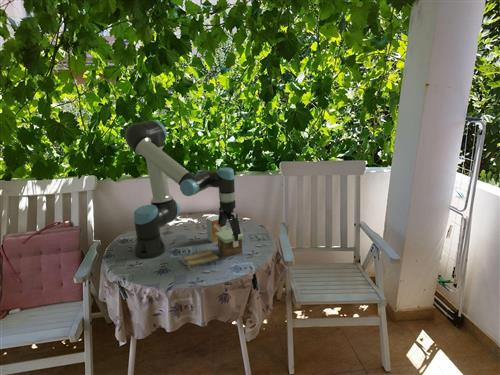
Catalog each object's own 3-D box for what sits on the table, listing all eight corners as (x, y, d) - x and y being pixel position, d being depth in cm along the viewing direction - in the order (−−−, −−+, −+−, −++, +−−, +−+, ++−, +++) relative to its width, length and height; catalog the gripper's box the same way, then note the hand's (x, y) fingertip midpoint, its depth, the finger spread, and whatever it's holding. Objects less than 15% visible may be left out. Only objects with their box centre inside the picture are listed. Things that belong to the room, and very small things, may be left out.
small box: (213, 244, 204) (211, 221, 200) (207, 240, 209) (205, 217, 205) (226, 240, 208) (225, 217, 204) (220, 236, 213) (219, 214, 210)
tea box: (218, 253, 193) (217, 236, 191) (234, 248, 198) (233, 232, 195) (226, 259, 187) (225, 242, 184) (242, 254, 191) (241, 237, 189)
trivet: (183, 260, 187) (182, 257, 187) (209, 252, 194) (209, 249, 194) (191, 268, 179) (191, 265, 179) (218, 260, 186) (218, 257, 186)
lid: (215, 238, 192) (215, 233, 191) (232, 233, 197) (232, 228, 196) (226, 246, 183) (225, 240, 182) (244, 241, 188) (243, 235, 187)
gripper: (247, 204, 177) (248, 248, 183) (222, 192, 196) (225, 233, 202) (232, 208, 173) (235, 253, 179) (209, 195, 192) (212, 236, 198)
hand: (229, 242), depth 191 cm, fingers closed on lid, 11 cm apart
